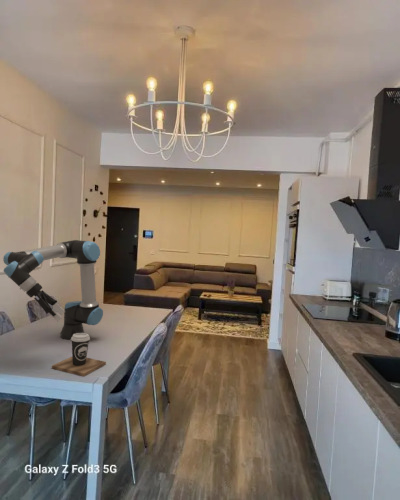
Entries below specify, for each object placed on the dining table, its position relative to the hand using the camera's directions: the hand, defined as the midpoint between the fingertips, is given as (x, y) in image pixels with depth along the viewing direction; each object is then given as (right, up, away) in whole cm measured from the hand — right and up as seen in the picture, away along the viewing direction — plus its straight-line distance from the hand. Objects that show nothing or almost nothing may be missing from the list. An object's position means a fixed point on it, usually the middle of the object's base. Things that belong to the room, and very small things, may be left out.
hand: (61, 316), depth 183 cm
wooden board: (+9, -26, 0) cm, 28 cm away
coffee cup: (+9, -25, 0) cm, 27 cm away
